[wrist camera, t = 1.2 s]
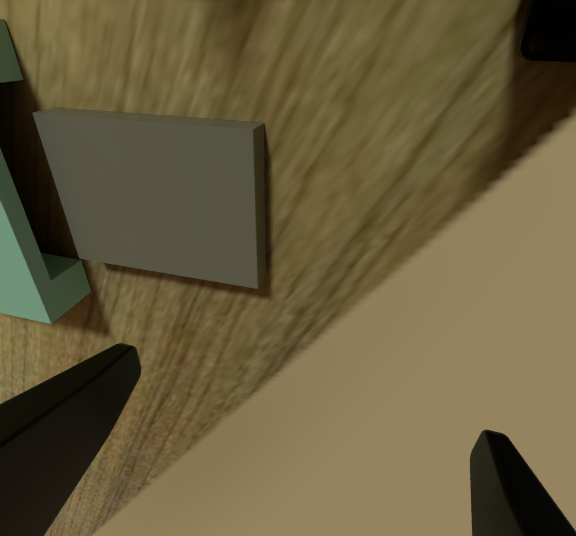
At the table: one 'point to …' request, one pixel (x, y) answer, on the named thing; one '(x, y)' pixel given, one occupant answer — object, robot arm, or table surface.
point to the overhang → (30, 243)
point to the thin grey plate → (161, 191)
